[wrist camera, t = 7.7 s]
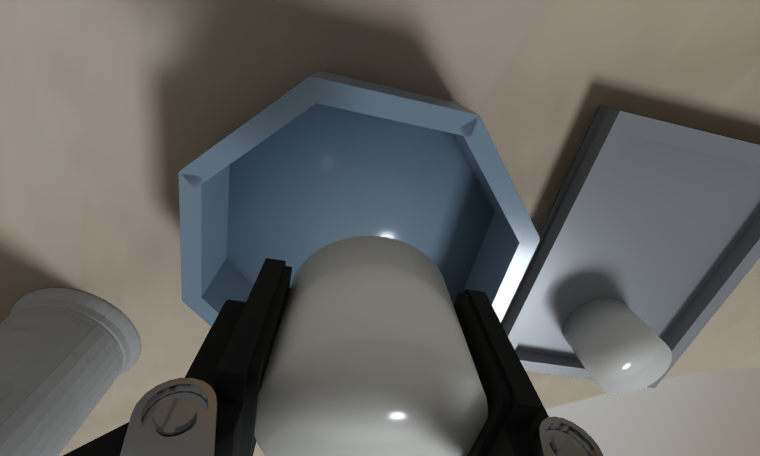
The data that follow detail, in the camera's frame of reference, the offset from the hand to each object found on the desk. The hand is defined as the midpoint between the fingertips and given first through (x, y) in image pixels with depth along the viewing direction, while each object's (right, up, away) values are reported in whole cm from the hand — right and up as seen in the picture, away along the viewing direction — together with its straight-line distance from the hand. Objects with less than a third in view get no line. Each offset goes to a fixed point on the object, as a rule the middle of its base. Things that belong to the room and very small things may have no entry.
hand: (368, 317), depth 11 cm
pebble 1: (0, 0, 0) cm, 1 cm away
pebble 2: (+17, -5, +16) cm, 24 cm away
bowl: (-1, +3, +13) cm, 13 cm away
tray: (+18, 0, +15) cm, 23 cm away
